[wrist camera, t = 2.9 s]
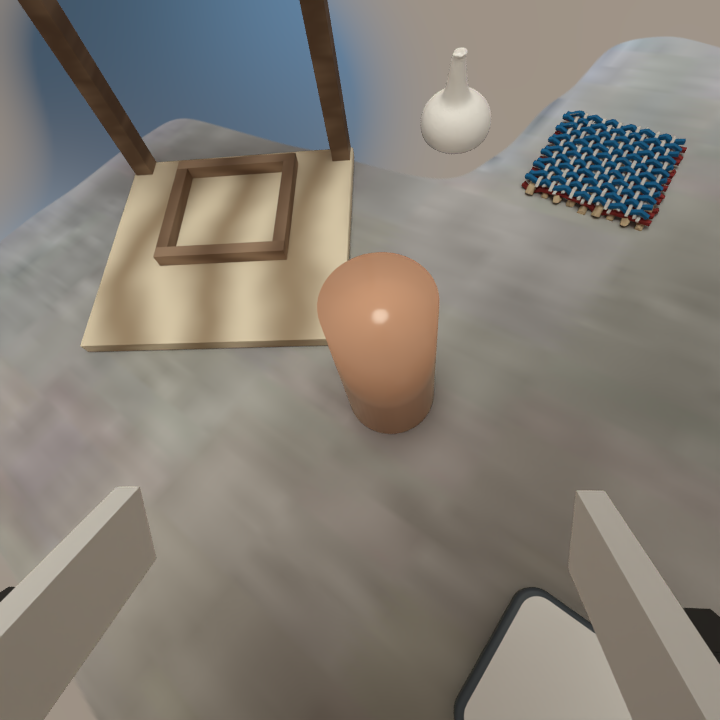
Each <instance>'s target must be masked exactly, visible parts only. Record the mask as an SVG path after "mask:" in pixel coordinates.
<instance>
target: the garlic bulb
mask: <svg viewBox="0 0 720 720" xmlns="http://www.w3.org/2000/svg"><path fill="white" fill-rule="evenodd" d="M467 52H468V51H467V49H465V48H457V49H455V52H454V54H453V55H452V61H451V65H450V69H449V74H448V79H447V83H446V87H445V89H442V90H441V91H439V92H438V93H436V94H435V95H433V96H432V97H431V98H430V100H429V101H428V102H427V104H426V105H425V107H424V109H423V112H422V116H421V132H422V135H423V138H424V139H425V141H426V142H427V144H428V145H429V146H431V147H432V148H433V149H435V150H437V151H440V152H443V153H448V154H458V153H464V152H467V151H470V150H472V149H474V148H476V147H477V146H478V145H480V144H481V143H482V142H483V141H484V139H485V138H486V136H487V134H488V132H489V129H490V125H491V112H490V108H489V105H488V103H487V101H486V99H485V98H484V97H483V96H482V95H481V94H480V93H479V92H477V91H476V90H474V89H473V88H470V87H468V81H467V68H466V53H467Z"/></svg>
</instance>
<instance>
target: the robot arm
mask: <svg viewBox="0 0 720 720" xmlns="http://www.w3.org/2000/svg"><path fill="white" fill-rule="evenodd" d="M155 560H156V554H155V550H154V545H153V541H152V537H151V533H150V528H149V524H148V520H147V516H146V511H145V507H144V503H143V499H142V494H141V490H140V487H116V488H115V489H114V490H113V491H112V492H111V493H110V494H109V495H108V496H107V497H106V498H105V499H104V500H103V501H102V502H101V503H100V504H99V505H98V506H97V507H96V508H95V509H94V510H93V511H92V512H91V513H90V514H89V515H88V516H87V517H86V518H85V519H84V520H83V521H82V522H81V523H80V524H79V525H78V526H77V527H76V528H75V529H74V530H73V531H72V532H71V533H70V534H69V535H68V536H67V537H66V538H64V539H63V540H62V541H61V542H60V543H59V544H58V545H57V546H56V547H55V548H54V549H53V550H52V551H51V552H50V553H49V554H48V555H47V556H46V557H45V558H44V559H43V560H42V561H41V562H40V563H39V564H38V565H37V566H36V567H35V568H34V569H33V570H32V571H31V572H30V573H29V574H28V575H27V576H26V577H25V578H24V579H23V580H22V581H21V582H20V583H19V584H18V585H17V586H16V587H8V588H6V589H5V590H3V591H2V592H0V720H44V719H45V717H46V716H47V714H48V713H49V712H50V710H51V709H52V707H53V706H54V704H55V703H56V702H57V700H58V699H59V697H60V696H61V694H62V693H63V692H64V690H65V688H66V687H67V686H68V684H69V683H70V681H71V680H72V679H73V677H74V676H75V674H76V673H77V671H78V670H79V669H80V667H81V666H82V664H83V663H84V661H85V660H86V659H87V657H88V656H89V654H90V653H91V651H92V650H93V649H94V647H95V646H96V644H97V643H98V641H99V640H100V639H101V637H102V636H103V634H104V633H105V631H106V630H107V628H108V627H109V626H110V624H111V623H112V621H113V620H114V618H115V617H116V616H117V614H118V613H119V611H120V610H121V608H122V607H123V606H124V604H125V603H126V601H127V600H128V598H129V597H130V596H131V594H132V593H133V591H134V590H135V588H136V587H137V585H138V584H139V583H140V581H141V580H142V578H143V577H144V575H145V574H146V573H147V571H148V570H149V568H150V567H151V565H152V564H153V563H154V561H155ZM568 570H569V572H570V575H571V577H572V579H573V582H574V584H575V586H576V589H577V591H578V593H579V596H580V598H581V600H582V603H583V605H584V607H585V610H586V612H587V614H588V617H589V619H590V622H591V624H592V626H593V629H594V631H595V633H596V636H597V638H598V640H599V643H600V645H601V647H602V650H603V652H604V654H605V657H606V659H607V661H608V664H609V666H610V668H611V671H612V673H613V675H614V678H615V680H616V682H617V685H618V687H619V690H620V692H621V694H622V697H623V699H624V701H625V704H626V706H627V708H628V711H629V713H630V715H631V718H632V720H720V617H719V616H718V615H717V614H716V613H714V612H713V611H712V610H711V609H698V608H682V607H681V605H680V604H679V602H678V601H677V599H676V598H675V596H674V595H673V593H672V592H671V590H670V589H669V587H668V586H667V584H666V583H665V581H664V580H663V578H662V577H661V575H660V574H659V572H658V571H657V569H656V568H655V566H654V565H653V563H652V561H651V560H650V558H649V557H648V555H647V554H646V552H645V551H644V549H643V548H642V546H641V545H640V543H639V542H638V540H637V539H636V537H635V536H634V534H633V533H632V531H631V530H630V528H629V527H628V525H627V524H626V522H625V521H624V519H623V518H622V516H621V515H620V513H619V512H618V510H617V509H616V507H615V506H614V504H613V503H612V501H611V500H610V498H609V497H608V495H607V494H606V492H605V491H597V490H576V496H575V506H574V516H573V525H572V535H571V545H570V554H569V564H568Z"/></svg>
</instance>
